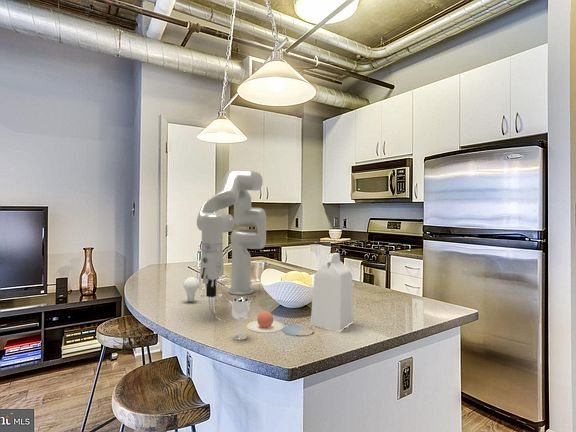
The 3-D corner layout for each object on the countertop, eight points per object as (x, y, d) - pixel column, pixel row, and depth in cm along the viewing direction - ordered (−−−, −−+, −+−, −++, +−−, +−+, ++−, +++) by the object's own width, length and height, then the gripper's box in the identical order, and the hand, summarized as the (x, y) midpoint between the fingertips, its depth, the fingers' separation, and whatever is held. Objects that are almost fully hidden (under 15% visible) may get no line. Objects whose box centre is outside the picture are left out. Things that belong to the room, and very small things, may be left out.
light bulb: (194, 304, 145) (195, 278, 145) (180, 303, 147) (180, 277, 147) (201, 301, 152) (202, 276, 152) (187, 299, 153) (188, 275, 153)
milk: (340, 332, 117) (342, 256, 117) (310, 325, 123) (312, 253, 123) (352, 323, 127) (355, 253, 127) (325, 317, 133) (327, 251, 133)
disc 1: (254, 318, 129) (254, 318, 129) (288, 323, 125) (288, 322, 125) (240, 329, 116) (240, 329, 116) (277, 334, 113) (277, 334, 113)
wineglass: (231, 334, 112) (232, 297, 112) (249, 334, 112) (250, 297, 112) (229, 340, 106) (231, 302, 106) (248, 340, 107) (249, 302, 107)
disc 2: (287, 323, 124) (287, 323, 124) (317, 327, 121) (317, 327, 121) (278, 333, 114) (278, 333, 114) (310, 338, 111) (310, 337, 111)
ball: (269, 306, 122) (278, 319, 120) (259, 314, 123) (267, 328, 122) (262, 310, 117) (271, 324, 115) (251, 319, 118) (260, 333, 117)
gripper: (211, 251, 119) (210, 303, 120) (230, 245, 133) (229, 292, 134) (192, 249, 121) (191, 300, 122) (212, 244, 135) (211, 290, 136)
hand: (211, 296), depth 128 cm, fingers closed
